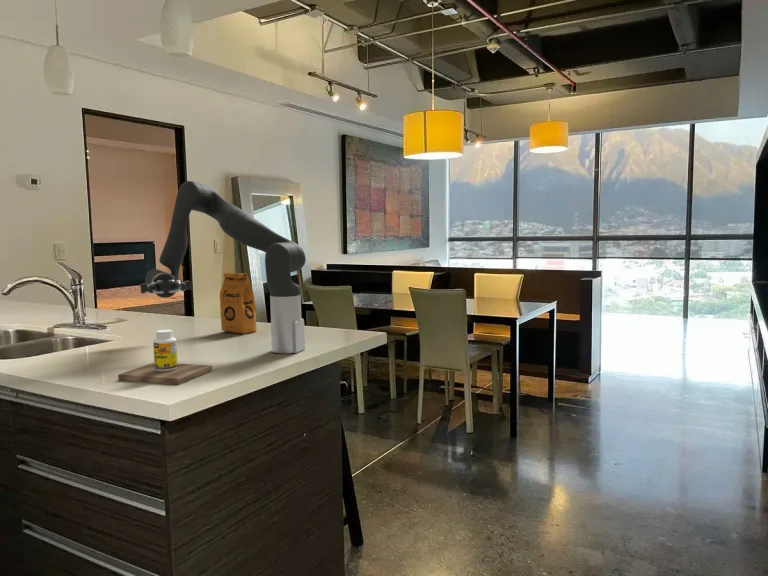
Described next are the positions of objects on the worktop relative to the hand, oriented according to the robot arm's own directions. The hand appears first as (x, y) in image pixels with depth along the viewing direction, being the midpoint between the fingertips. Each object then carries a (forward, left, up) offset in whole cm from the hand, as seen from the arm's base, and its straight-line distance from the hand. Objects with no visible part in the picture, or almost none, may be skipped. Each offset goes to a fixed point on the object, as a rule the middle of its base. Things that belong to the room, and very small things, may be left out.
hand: (167, 288), depth 167 cm
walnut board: (-11, +17, -21) cm, 29 cm away
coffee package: (+5, -45, -21) cm, 50 cm away
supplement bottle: (-11, +17, -20) cm, 28 cm away
